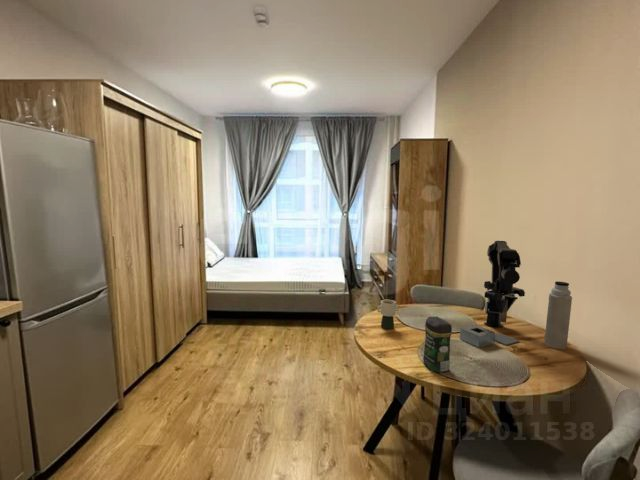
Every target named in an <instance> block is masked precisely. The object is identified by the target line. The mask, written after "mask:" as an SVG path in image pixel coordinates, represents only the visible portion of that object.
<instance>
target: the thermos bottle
mask: <svg viewBox="0 0 640 480" xmlns="http://www.w3.org/2000/svg"><path fill="white" fill-rule="evenodd" d="M569 286H570V283H569V282H566V281H555V282H554V287H553V288H551V290H550V291H551V292H550V293H548V304H547V313H546V325H545V334H544V345H546V346H547V347H549V348H552V349H557V350H566V349H567V348H568V338H569V330H570V320H571V311H572V304H573V303H572V301H573V297H572V296H571V294H572V293H571V290H569Z"/></svg>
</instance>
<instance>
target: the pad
mask: <svg viewBox="0 0 640 480" xmlns="http://www.w3.org/2000/svg"><path fill="white" fill-rule="evenodd" d="M495 342H496V343H498V344H501V345H503V346H506V347H507V346H510V345H514V344H517V343H520V340H519V339H516V338H514V337H511V336H508V335H505V334H504V333H497V334H495Z"/></svg>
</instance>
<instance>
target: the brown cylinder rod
mask: <svg viewBox="0 0 640 480" xmlns="http://www.w3.org/2000/svg"><path fill="white" fill-rule="evenodd" d="M506 300H507V302H506V305H505V307H504V310H503V312H502V313H500V315H499V321H500V322H501V323H507V315H508V311H507V306H508V299H506Z"/></svg>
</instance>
